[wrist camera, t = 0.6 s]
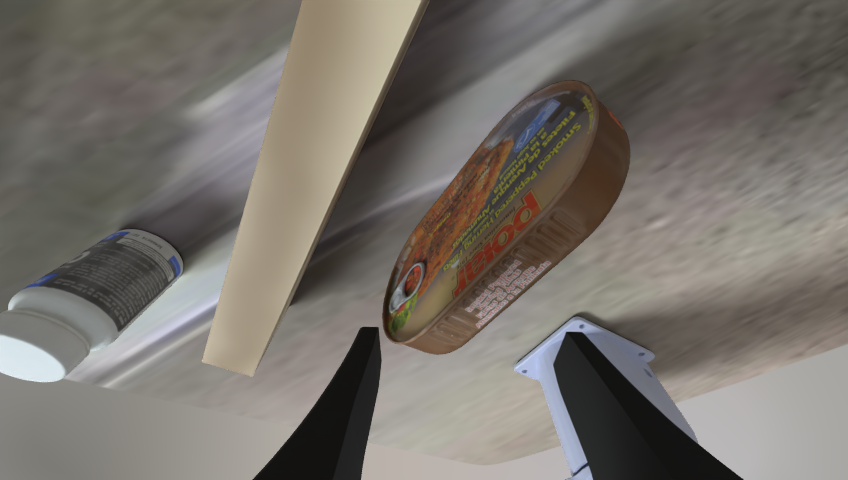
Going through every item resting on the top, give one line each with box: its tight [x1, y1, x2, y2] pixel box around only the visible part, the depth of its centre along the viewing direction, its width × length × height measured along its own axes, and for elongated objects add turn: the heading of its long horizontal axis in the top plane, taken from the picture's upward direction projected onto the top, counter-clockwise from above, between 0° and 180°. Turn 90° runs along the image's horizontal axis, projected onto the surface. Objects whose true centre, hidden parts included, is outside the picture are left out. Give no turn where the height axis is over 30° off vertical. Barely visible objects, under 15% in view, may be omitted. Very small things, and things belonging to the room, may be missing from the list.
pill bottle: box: [0, 229, 183, 382], centre depth 18 cm, size 5×5×8 cm
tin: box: [382, 80, 630, 355], centre depth 15 cm, size 15×3×8 cm, turn 145°
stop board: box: [202, 0, 430, 377], centre depth 15 cm, size 3×24×6 cm, turn 150°
